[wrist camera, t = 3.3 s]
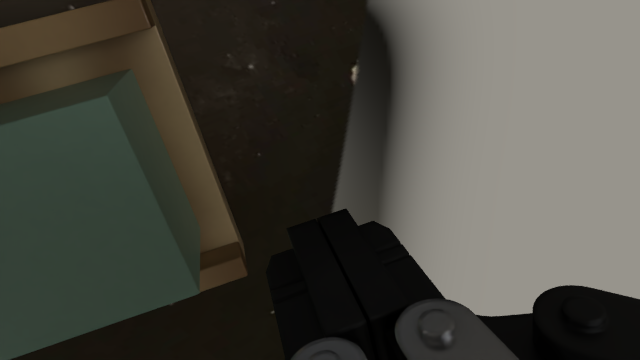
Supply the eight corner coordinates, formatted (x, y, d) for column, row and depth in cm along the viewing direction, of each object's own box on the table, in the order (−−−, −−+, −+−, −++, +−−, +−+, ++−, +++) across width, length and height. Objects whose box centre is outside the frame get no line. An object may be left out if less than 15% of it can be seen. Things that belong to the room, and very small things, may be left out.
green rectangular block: (-35, 306, 19) (-106, 400, 15) (-165, 149, 16) (-311, 211, 11) (201, 228, 21) (200, 294, 16) (131, 68, 17) (106, 95, 13)
